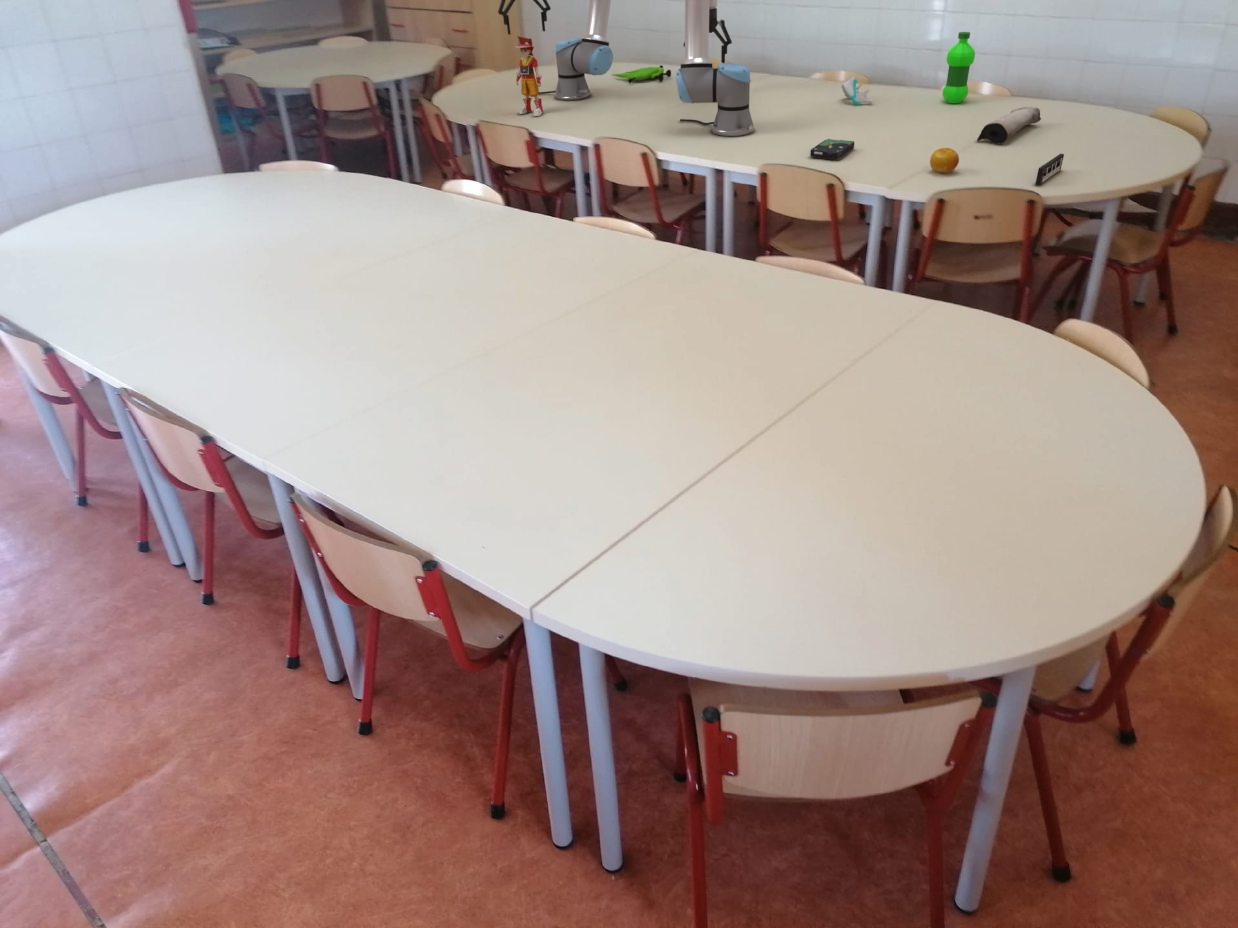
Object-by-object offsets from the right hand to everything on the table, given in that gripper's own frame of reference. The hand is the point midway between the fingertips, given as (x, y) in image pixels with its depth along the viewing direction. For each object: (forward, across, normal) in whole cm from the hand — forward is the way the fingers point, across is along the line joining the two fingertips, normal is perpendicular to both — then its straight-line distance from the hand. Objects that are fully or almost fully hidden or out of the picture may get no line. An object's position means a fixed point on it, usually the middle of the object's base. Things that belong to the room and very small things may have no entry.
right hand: (707, 64), depth 376 cm
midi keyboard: (+16, -68, +144) cm, 160 cm away
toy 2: (+12, +20, -50) cm, 55 cm away
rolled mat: (+15, -83, +97) cm, 128 cm away
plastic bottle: (+14, -87, +49) cm, 101 cm away
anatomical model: (+13, -53, +33) cm, 64 cm away
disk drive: (+15, -17, +97) cm, 100 cm away
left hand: (-18, +76, +8) cm, 78 cm away
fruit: (+16, -42, +128) cm, 135 cm away
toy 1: (+14, +76, -2) cm, 77 cm away
